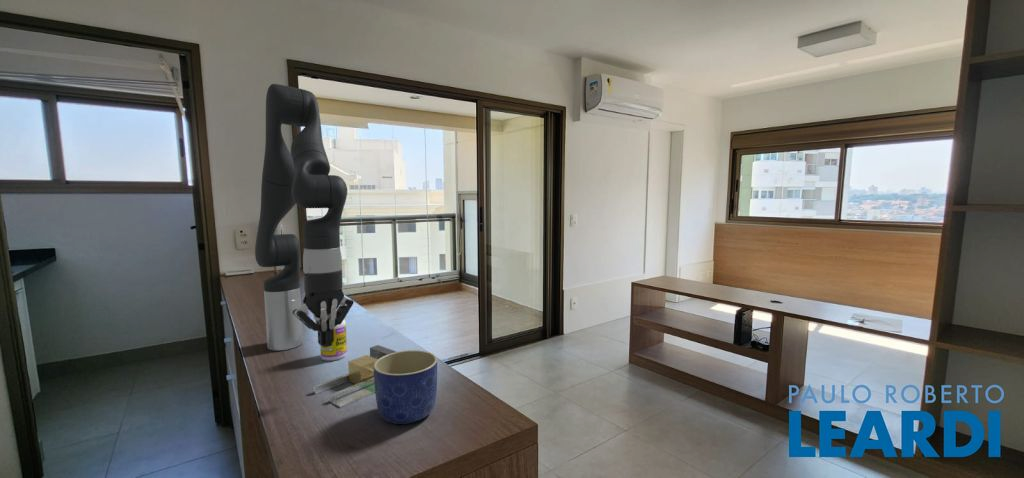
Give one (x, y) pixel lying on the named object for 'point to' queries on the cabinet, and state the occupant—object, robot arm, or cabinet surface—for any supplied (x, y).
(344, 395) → the grey open frame tray
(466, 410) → the cabinet surface
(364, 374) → the tan gold cube
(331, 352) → the supplement bottle
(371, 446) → the cabinet surface
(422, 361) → the planter
